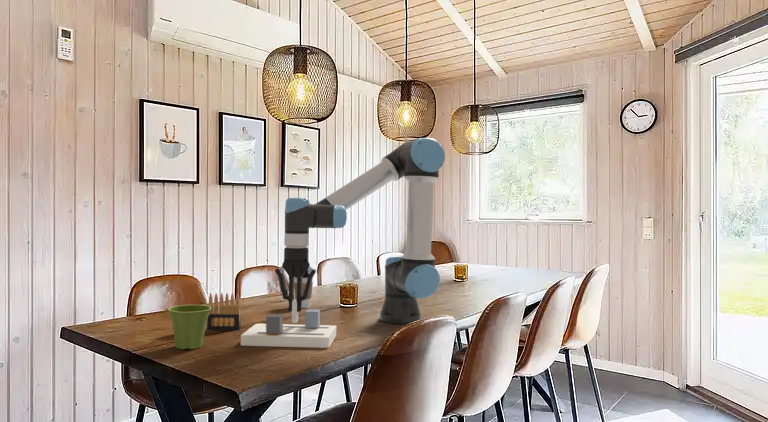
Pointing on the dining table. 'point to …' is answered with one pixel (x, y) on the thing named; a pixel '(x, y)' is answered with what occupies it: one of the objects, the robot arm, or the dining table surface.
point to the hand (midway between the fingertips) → (294, 321)
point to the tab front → (274, 323)
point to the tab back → (312, 318)
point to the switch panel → (290, 336)
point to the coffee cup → (306, 302)
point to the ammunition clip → (224, 313)
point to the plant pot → (189, 325)
